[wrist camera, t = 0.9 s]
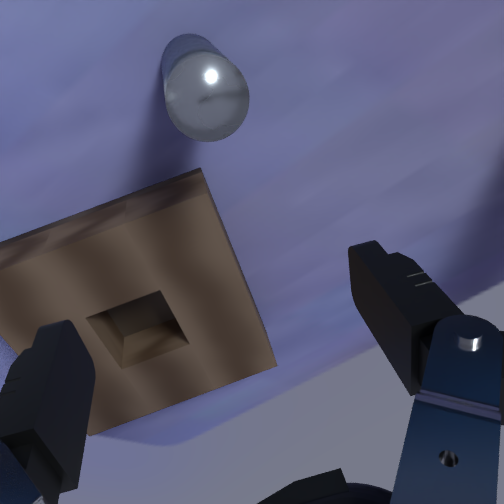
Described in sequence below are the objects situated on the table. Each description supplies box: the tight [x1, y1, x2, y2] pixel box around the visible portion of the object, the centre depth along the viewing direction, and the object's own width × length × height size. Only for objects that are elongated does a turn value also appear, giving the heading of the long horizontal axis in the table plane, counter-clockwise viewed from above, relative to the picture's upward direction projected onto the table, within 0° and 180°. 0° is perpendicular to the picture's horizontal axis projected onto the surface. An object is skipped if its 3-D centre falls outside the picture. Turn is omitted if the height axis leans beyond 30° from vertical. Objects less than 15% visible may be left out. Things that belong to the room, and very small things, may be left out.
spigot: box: [161, 34, 249, 142], centre depth 26 cm, size 4×4×11 cm
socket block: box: [0, 168, 277, 436], centre depth 37 cm, size 18×18×5 cm
